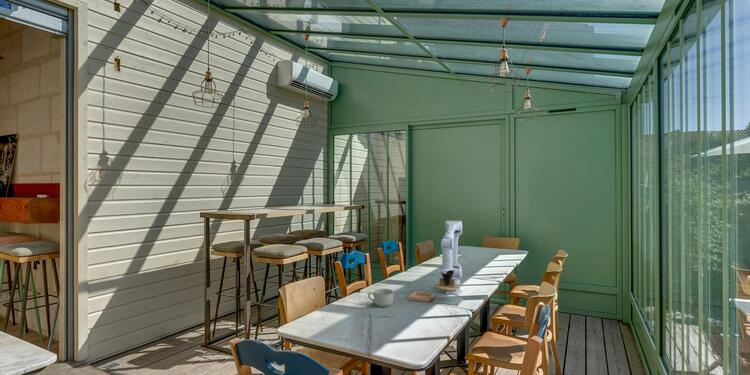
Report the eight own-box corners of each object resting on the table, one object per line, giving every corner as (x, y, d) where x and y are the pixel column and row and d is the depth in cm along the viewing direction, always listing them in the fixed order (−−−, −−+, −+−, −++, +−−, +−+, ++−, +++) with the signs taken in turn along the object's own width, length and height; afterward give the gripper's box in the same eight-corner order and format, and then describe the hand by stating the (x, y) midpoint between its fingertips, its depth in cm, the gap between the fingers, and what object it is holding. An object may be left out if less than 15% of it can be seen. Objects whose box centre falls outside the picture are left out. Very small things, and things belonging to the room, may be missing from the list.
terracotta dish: (415, 294, 235) (415, 291, 235) (434, 296, 230) (434, 293, 230) (408, 299, 224) (408, 296, 224) (428, 302, 219) (428, 298, 219)
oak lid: (439, 283, 229) (439, 275, 229) (461, 286, 224) (461, 277, 224) (432, 288, 218) (432, 280, 218) (455, 291, 212) (455, 282, 212)
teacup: (394, 303, 219) (394, 288, 219) (393, 308, 208) (392, 293, 208) (369, 302, 220) (369, 288, 220) (367, 308, 209) (366, 293, 209)
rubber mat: (439, 296, 230) (439, 295, 230) (463, 299, 224) (463, 298, 224) (432, 303, 217) (432, 302, 217) (457, 305, 211) (457, 304, 211)
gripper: (443, 257, 229) (444, 280, 229) (436, 261, 216) (437, 286, 216) (455, 258, 226) (456, 281, 226) (449, 262, 213) (449, 287, 213)
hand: (447, 284), depth 221 cm, fingers closed on oak lid, 3 cm apart
